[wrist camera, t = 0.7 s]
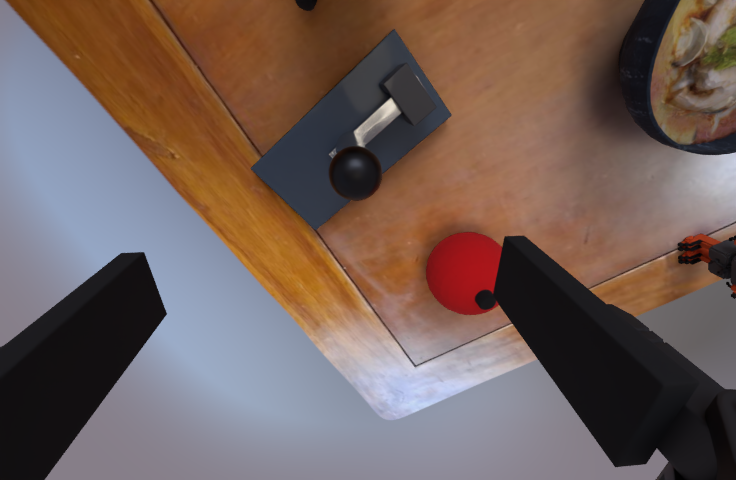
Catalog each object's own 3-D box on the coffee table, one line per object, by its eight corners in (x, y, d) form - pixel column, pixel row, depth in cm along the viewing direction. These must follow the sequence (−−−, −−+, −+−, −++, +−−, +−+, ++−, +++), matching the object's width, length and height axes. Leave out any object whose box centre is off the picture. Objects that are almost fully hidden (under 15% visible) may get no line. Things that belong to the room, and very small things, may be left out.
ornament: (497, 267, 40) (542, 320, 31) (431, 293, 41) (456, 352, 32) (480, 207, 36) (526, 248, 28) (407, 237, 37) (429, 286, 28)
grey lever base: (391, 31, 28) (401, 21, 24) (447, 113, 32) (465, 119, 27) (253, 165, 32) (240, 178, 28) (316, 225, 36) (313, 245, 31)
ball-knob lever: (406, 66, 28) (453, 54, 16) (428, 98, 29) (487, 109, 17) (322, 143, 30) (311, 182, 18) (346, 170, 31) (350, 222, 20)
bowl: (677, -124, 25) (864, -238, 16) (793, 1, 30) (988, -34, 21) (537, 89, 31) (616, 92, 22) (651, 165, 36) (754, 193, 27)
